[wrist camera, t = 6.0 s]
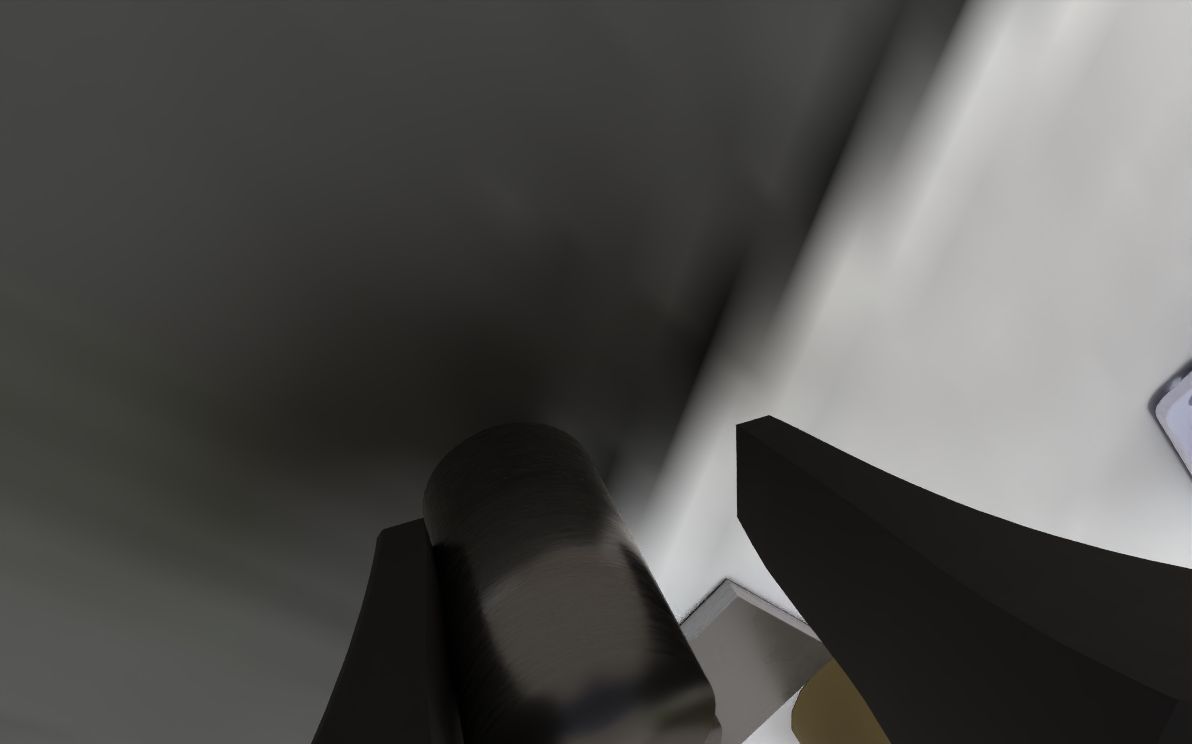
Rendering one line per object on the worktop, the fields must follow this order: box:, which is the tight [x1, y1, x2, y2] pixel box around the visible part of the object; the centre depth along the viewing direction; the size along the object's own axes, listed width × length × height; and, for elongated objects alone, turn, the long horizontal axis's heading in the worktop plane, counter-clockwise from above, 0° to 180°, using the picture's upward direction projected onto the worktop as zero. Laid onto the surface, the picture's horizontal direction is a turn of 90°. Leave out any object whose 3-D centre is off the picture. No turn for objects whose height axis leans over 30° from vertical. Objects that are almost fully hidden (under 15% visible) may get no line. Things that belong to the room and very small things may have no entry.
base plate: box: [680, 580, 833, 744], centre depth 21 cm, size 10×5×1 cm, turn 137°
